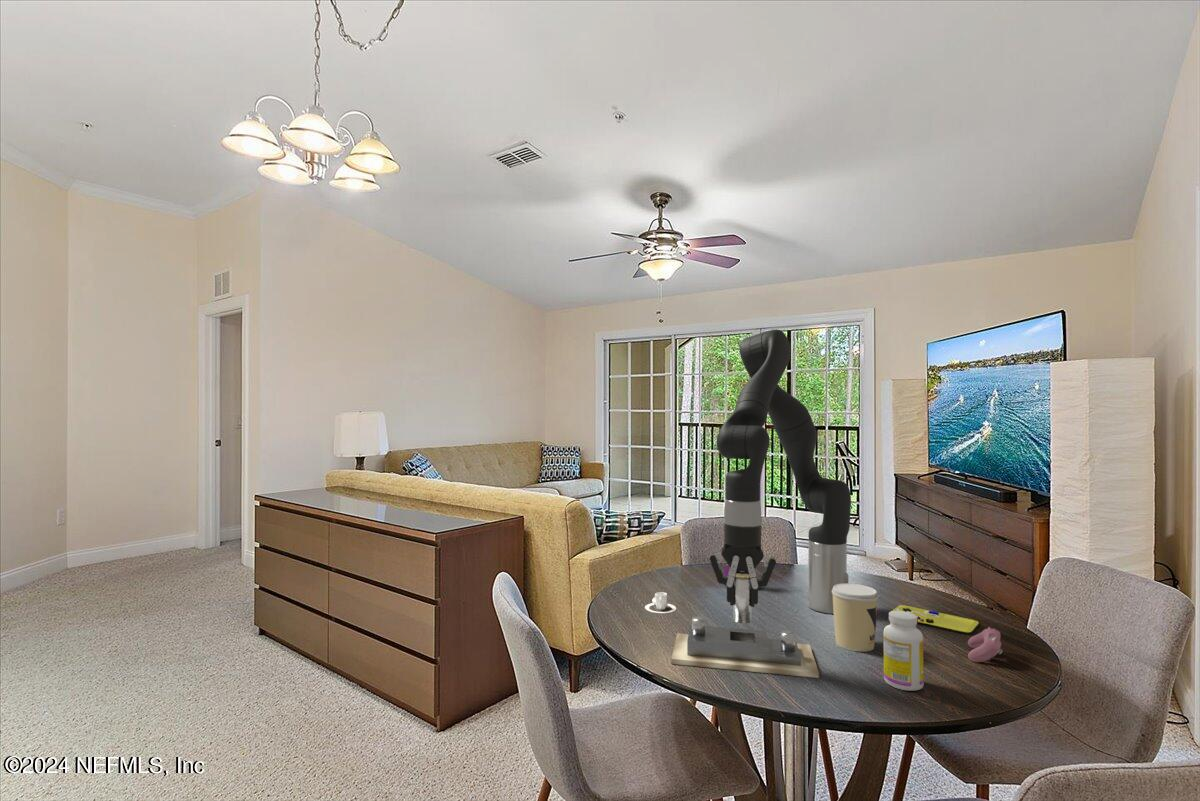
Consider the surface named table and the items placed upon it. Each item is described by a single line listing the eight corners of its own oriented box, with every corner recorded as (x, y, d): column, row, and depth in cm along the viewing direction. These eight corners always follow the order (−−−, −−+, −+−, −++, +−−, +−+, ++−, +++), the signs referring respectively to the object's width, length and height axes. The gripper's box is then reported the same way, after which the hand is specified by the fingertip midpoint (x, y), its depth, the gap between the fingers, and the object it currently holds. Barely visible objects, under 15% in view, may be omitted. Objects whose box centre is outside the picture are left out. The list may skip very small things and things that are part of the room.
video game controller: (989, 673, 119) (1008, 645, 118) (965, 659, 122) (984, 631, 120) (988, 656, 128) (1005, 630, 126) (965, 643, 130) (982, 616, 129)
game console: (980, 625, 144) (980, 619, 144) (971, 638, 135) (970, 631, 135) (899, 608, 156) (899, 602, 156) (886, 619, 147) (886, 613, 147)
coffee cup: (880, 656, 124) (880, 597, 124) (832, 649, 127) (832, 592, 127) (876, 640, 133) (876, 585, 133) (831, 634, 136) (831, 581, 136)
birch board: (809, 649, 127) (809, 644, 127) (819, 678, 113) (819, 672, 113) (677, 637, 133) (677, 633, 133) (671, 663, 119) (671, 658, 119)
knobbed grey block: (795, 647, 125) (796, 619, 125) (800, 665, 117) (801, 634, 117) (690, 638, 130) (690, 610, 130) (687, 655, 121) (687, 625, 121)
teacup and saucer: (653, 602, 159) (653, 586, 159) (681, 606, 155) (681, 591, 156) (639, 611, 151) (640, 595, 152) (669, 617, 148) (669, 600, 148)
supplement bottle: (908, 675, 115) (908, 608, 115) (931, 691, 108) (931, 620, 109) (876, 677, 114) (876, 609, 114) (897, 693, 108) (897, 621, 108)
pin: (752, 617, 125) (752, 569, 125) (752, 624, 121) (753, 575, 121) (731, 616, 126) (731, 568, 126) (731, 622, 122) (732, 573, 122)
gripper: (776, 520, 126) (776, 602, 126) (708, 516, 129) (708, 597, 129) (779, 526, 119) (779, 613, 118) (707, 523, 122) (706, 608, 121)
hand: (742, 604), depth 124 cm, fingers closed on pin, 3 cm apart
